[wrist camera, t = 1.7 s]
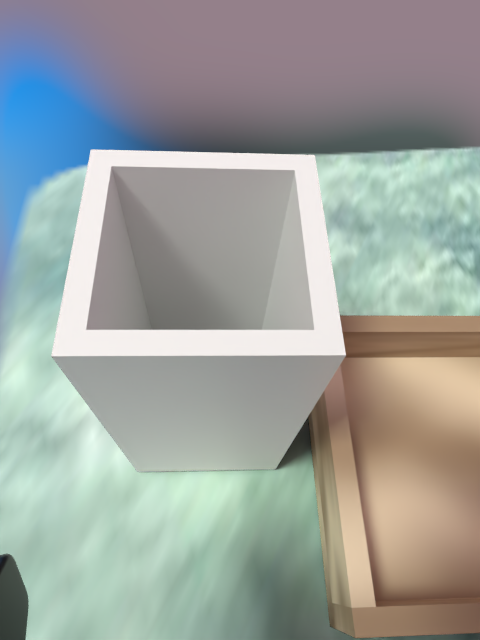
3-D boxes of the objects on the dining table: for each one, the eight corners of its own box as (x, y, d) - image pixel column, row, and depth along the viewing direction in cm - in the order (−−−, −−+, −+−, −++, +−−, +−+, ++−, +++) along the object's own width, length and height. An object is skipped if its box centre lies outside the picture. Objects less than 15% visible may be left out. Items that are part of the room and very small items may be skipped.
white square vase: (275, 469, 20) (346, 355, 9) (137, 471, 20) (51, 356, 9) (267, 346, 23) (314, 155, 12) (147, 346, 22) (90, 149, 12)
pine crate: (618, 614, 18) (703, 623, 15) (329, 626, 17) (355, 638, 14) (521, 349, 23) (567, 316, 20) (301, 349, 23) (314, 315, 20)
